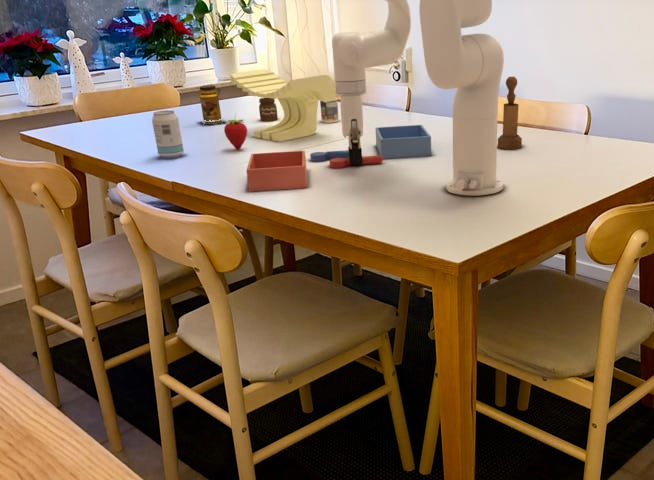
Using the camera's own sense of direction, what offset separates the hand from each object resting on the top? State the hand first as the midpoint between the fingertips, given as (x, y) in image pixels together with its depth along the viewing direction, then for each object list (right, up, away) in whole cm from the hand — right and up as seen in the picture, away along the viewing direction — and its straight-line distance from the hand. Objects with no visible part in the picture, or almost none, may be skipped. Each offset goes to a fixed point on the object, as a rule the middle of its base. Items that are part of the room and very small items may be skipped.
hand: (355, 162), depth 189 cm
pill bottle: (-12, +29, +58) cm, 66 cm away
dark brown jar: (-34, +32, +65) cm, 80 cm away
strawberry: (-35, +10, +23) cm, 43 cm away
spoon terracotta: (0, 0, 0) cm, 1 cm away
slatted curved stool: (-24, +19, +40) cm, 50 cm away
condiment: (-53, +31, +64) cm, 89 cm away
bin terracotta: (-18, -7, -11) cm, 22 cm away
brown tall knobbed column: (+41, +7, +12) cm, 44 cm away
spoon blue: (-6, +3, +8) cm, 10 cm away
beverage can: (-53, +6, +18) cm, 56 cm away
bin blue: (+12, +7, +13) cm, 19 cm away
